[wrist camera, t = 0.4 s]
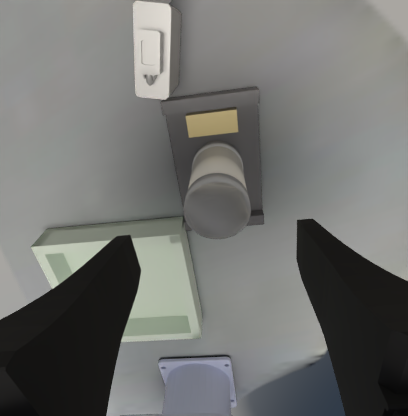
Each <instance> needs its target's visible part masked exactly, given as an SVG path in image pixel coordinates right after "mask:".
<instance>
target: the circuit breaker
mask: <svg viewBox="0 0 408 416" xmlns="http://www.w3.org/2000/svg"><path fill="white" fill-rule="evenodd" d="M170 2H171V0H136V1H135V3H134V4H133V26H134V65H135V93H136V95H137V96H138V97H143V98H153V99H163V100H166V99H167V98H168V97H169V96H170V95H171V93H172V92H173V91H174V90H175V89H176V87H177V86H178V85H179V65H180V41H181V17H182V14H181V13H180V11H179V10H177V9H176V8H174V7H173V6H171V5H170V4H168V3H170Z"/></svg>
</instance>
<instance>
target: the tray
mask: <svg viewBox="0 0 408 416" xmlns="http://www.w3.org/2000/svg"><path fill="white" fill-rule="evenodd" d="M122 235H131V238H132V242H133V245H134V248H135V251H136V255H137V258H138V261H139V264H140V268H141V275H140V281H139V286H138V291H137V294H136V297H135V301H134V304H133V307H132V310H131V313H130V316H129V319H128V321H127V324H126V327H125V330H124V333H123V336H122V340H121V342H135V341H156V340H177V339H198V338H201V334H202V317H203V316H202V311H201V306H200V300H199V295H198V290H197V285H196V280H195V274H194V269H193V264H192V259H191V254H190V249H189V243H188V238H187V233H186V231H185V226H184V217H172V218H161V219H149V220H138V221H127V222H116V223H105V224H94V225H83V226H72V227H61V228H50V229H46V230H45V232H44V233H43V234H42V235H41V236H40V237H39V238H38V239H37V241H36V242H35V243H34V244H33V245H32V246H31V248H32V250H33V252H34V254H35V256H36V258H37V260H38V262H39V264H40V266H41V268H42V270H43V272H44V273H45V275H46V277H47V279H48V281H49V283H50V285H51V287H52V289H53V288H55V287H56V286H57V285H59V284H60V283H62V282H63V281H64V280H66V279H67V278H68V277H69V276H71V275H72V274H73V273H74V272H76V271H77V270H78V269H79V268H80V267H82V266H83V265H84V264H85V263H86V262H88V261H89V260H90V259H91V258H92V257H93V256H94V255H96V254H97V253H98V252H99V251H100V250H101V249H102V248H103V247H105V246H106V245H107V244H108V243H109V242H110V241H111V240H113V239H114V238H115V237H116V236H122Z"/></svg>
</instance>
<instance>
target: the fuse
mask: <svg viewBox="0 0 408 416" xmlns="http://www.w3.org/2000/svg"><path fill="white" fill-rule="evenodd" d="M183 212H184V217H185V220H186V222H187V224H188V225H189V227H190V228H191V229H192V230H193V231H194V232H196V233H197V234H199V235H201V236H203V237H206V238H210V239H225V238H229V237H231V236H234V235H236V234H237V233H239V232H240V231H241V230H242V229H243V228H244V227H245V226H246V225H247V223H248V221H249V218H250V214H251V206H250V200H249V195H248V192H247V189H246V183H245V178H244V172H243V162H242V158H241V155H240V153H239V151H238V150H237V149H236V148H235V147H234V146H233V145H231V144H229V143H227V142H224V141H212V142H208V143H206V144H204V145H203V146H201V147H200V148H199V149H198V151H197V152H196V154H195V156H194V159H193V164H192V172H191V177H190V182H189V187H188V191H187V193H186V198H185V202H184V209H183Z"/></svg>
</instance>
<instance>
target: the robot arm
mask: <svg viewBox="0 0 408 416" xmlns="http://www.w3.org/2000/svg"><path fill="white" fill-rule="evenodd" d="M297 263H298V267H299V271H300V274H301V278H302V281H303V284H304V286H305V289H306V291H307V294H308V296H309V299H310V301H311V304H312V306H313V309H314V311H315V313H316V316H317V318H318V321H319V323H320V326H321V329H322V332H323V334H324V337H325V341H326V344H327V348H328V351H329V355H330V358H331V361H332V365H333V369H334V373H335V376H336V380H337V384H338V387H339V391H340V395H341V399H342V403H343V407H344V411H345V415H346V416H408V281H406V280H404V279H402V278H400V277H398V276H396V275H394V274H392V273H390V272H388V271H386V270H384V269H382V268H381V267H379V266H377V265H375V264H374V263H372V262H370V261H369V260H367V259H365V258H364V257H362V256H361V255H359V254H358V253H356V252H355V251H353V250H352V249H350V248H349V247H348V246H346V245H345V244H344V243H342V242H341V241H340V240H338V239H337V238H336V237H334V236H333V235H332V234H331V233H329V232H328V231H327V230H326V229H324V228H323V227H322V226H321V225H320V224H318V223H317V222H316V221H315V220H313V219H304V220H297ZM140 275H141V268H140V264H139V261H138V258H137V255H136V251H135V248H134V245H133V242H132V238H131V235H122V236H116V237H115V238H114V239H113V240H111V241H110V242H109V243H108V244H107V245H106V246H105V247H103V248H102V249H101V250H100V251H99V252H98V253H97V254H96V255H94V256H93V257H92V258H91V259H90V260H89V261H88V262H86V263H85V264H84V265H83V266H82V267H80V268H79V269H78V270H77V271H76V272H74V273H73V274H72V275H71V276H69V277H68V278H67V279H66V280H64V281H63V282H62V283H60V284H59V285H57V286H56V287H55V288H53V289H52V290H50V291H49V292H47V293H46V294H44V295H43V296H41V297H40V298H38V299H36V300H35V301H33V302H31V303H30V304H28V305H26V306H25V307H23V308H21V309H20V310H18V311H16V312H14V313H12V314H10V315H9V316H7V317H5V318H3V319H1V320H0V416H106V413H107V407H108V401H109V396H110V390H111V385H112V380H113V375H114V370H115V365H116V360H117V356H118V351H119V347H120V343H121V340H122V336H123V333H124V330H125V327H126V324H127V321H128V319H129V316H130V313H131V310H132V307H133V304H134V301H135V297H136V294H137V291H138V286H139V281H140ZM158 366H159V369H160V372H161V375H162V378H163V381H164V384H165V387H166V390H165V397H164V404H163V410H162V414H146V415H122V416H232V415H231V408H232V407H236V406H237V400H236V393H235V386H234V379H233V372H232V364H231V359H230V358H229V357H204V358H180V359H161V360H159V362H158Z"/></svg>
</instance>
